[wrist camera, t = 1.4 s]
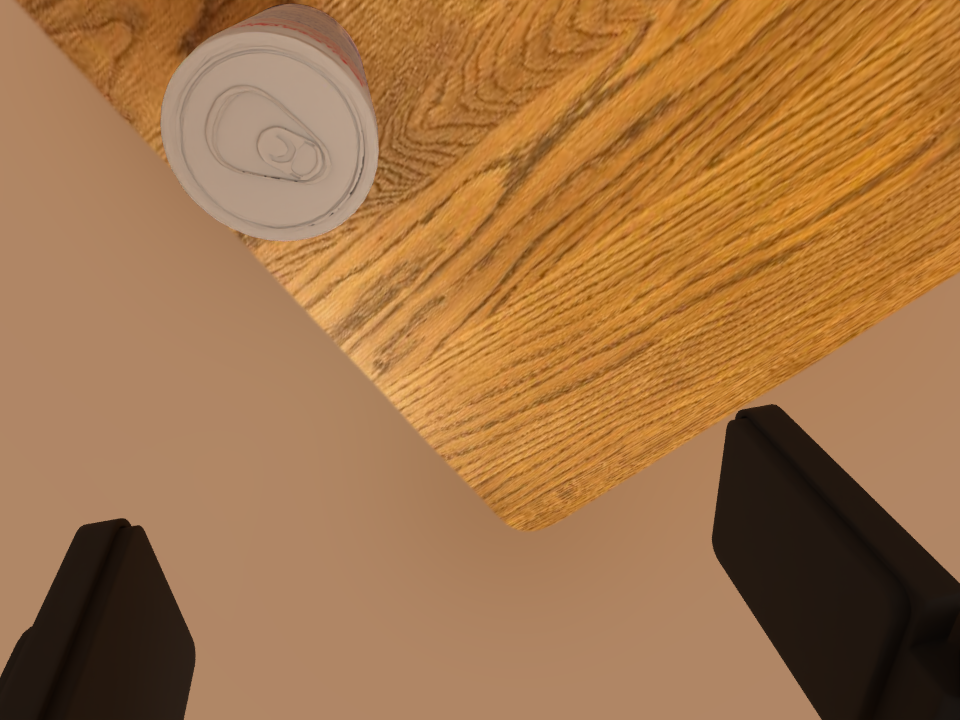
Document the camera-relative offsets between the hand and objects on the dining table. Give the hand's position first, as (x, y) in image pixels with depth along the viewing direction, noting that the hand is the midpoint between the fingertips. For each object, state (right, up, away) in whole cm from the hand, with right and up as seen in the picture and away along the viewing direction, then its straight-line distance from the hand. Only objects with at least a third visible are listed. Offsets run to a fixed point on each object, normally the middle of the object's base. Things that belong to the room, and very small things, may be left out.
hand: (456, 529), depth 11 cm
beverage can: (-8, +16, +20) cm, 26 cm away
